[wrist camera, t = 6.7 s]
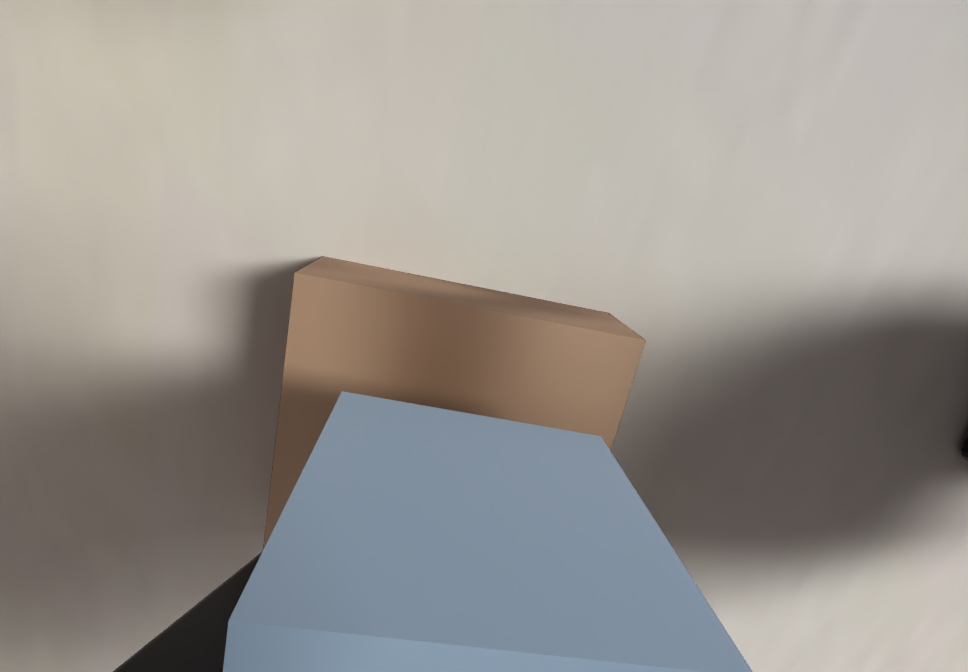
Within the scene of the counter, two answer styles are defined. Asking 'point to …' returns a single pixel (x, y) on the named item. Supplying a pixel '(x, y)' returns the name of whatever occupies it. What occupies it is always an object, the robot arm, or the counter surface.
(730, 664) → the slate cube
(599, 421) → the walnut block
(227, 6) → the counter surface
